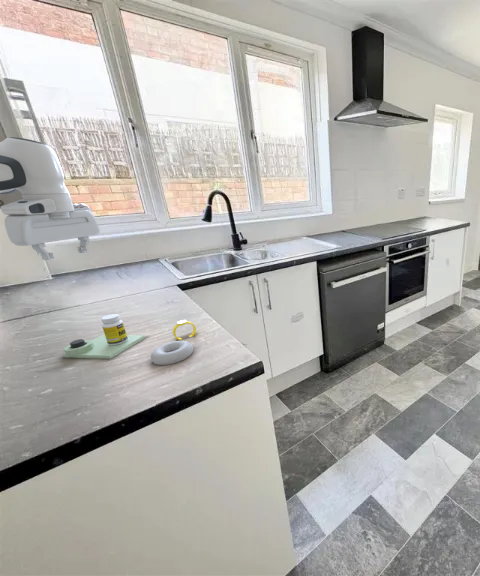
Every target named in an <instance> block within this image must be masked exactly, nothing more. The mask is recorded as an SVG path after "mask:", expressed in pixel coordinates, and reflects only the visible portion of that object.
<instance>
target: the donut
mask: <svg viewBox="0 0 480 576" xmlns="http://www.w3.org/2000/svg"><path fill="white" fill-rule="evenodd" d="M193 351H194V346H193V344H192V343H191V342H190V341H187V340H173V341H169V342H166V343H163V344H161V345H159V346H157V347H156V348H155V349H153V350H152V352H151V354H150V360H151V362H152V363H153V364H154V365H158V366H167V365H174V364H176V363H180V362H182V361H184V360H185V359H187V358H189V357H190V356H191V355H192V353H193Z"/></svg>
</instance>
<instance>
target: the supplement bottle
mask: <svg viewBox="0 0 480 576" xmlns="http://www.w3.org/2000/svg"><path fill="white" fill-rule="evenodd" d="M101 322H102V325H101V327H102V330H103V333H104V335H105V336H106V340H107V343H108V345H118V344H122V343H124V342H126V341H127V340H128V337H127V335H128V334H127V331H126V328H125V325H124V322H123V320H122V319H121V317H120V315H119V313H113V314H107V315H104V316H102V317H101Z"/></svg>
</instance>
